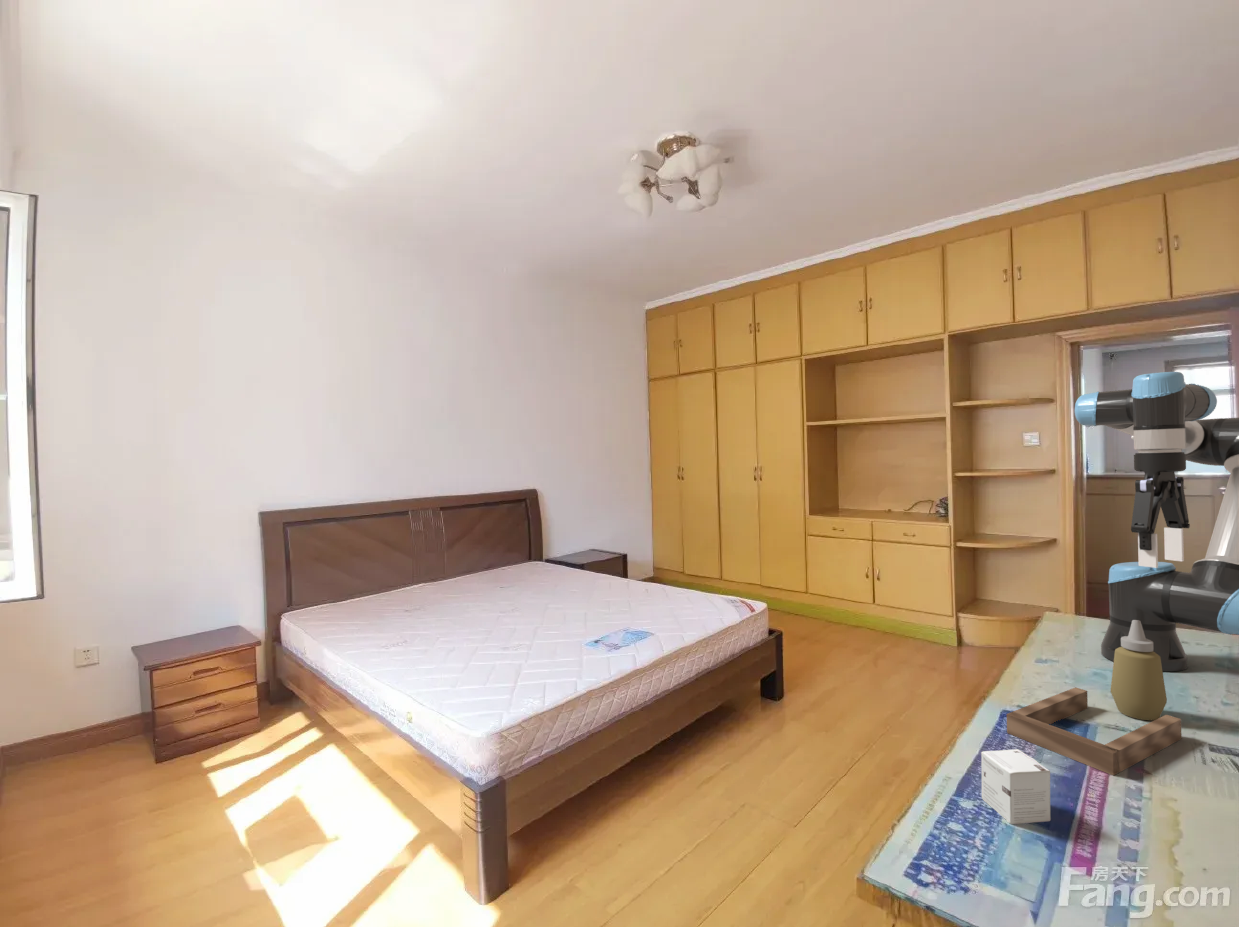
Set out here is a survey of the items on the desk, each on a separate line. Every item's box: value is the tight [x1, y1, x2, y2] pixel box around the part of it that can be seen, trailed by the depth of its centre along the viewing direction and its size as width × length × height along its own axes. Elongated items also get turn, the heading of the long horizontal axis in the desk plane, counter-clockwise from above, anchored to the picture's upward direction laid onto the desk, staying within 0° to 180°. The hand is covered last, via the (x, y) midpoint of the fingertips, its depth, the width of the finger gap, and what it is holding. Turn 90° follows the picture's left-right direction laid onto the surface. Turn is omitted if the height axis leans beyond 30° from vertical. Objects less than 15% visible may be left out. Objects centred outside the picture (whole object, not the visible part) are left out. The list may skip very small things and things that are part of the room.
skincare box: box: [980, 748, 1051, 825], centre depth 83 cm, size 6×6×7 cm
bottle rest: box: [1006, 686, 1182, 776], centre depth 103 cm, size 23×16×4 cm
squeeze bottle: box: [1110, 620, 1168, 721], centre depth 110 cm, size 8×8×18 cm
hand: (1161, 563), depth 114 cm, fingers open, 10 cm apart
